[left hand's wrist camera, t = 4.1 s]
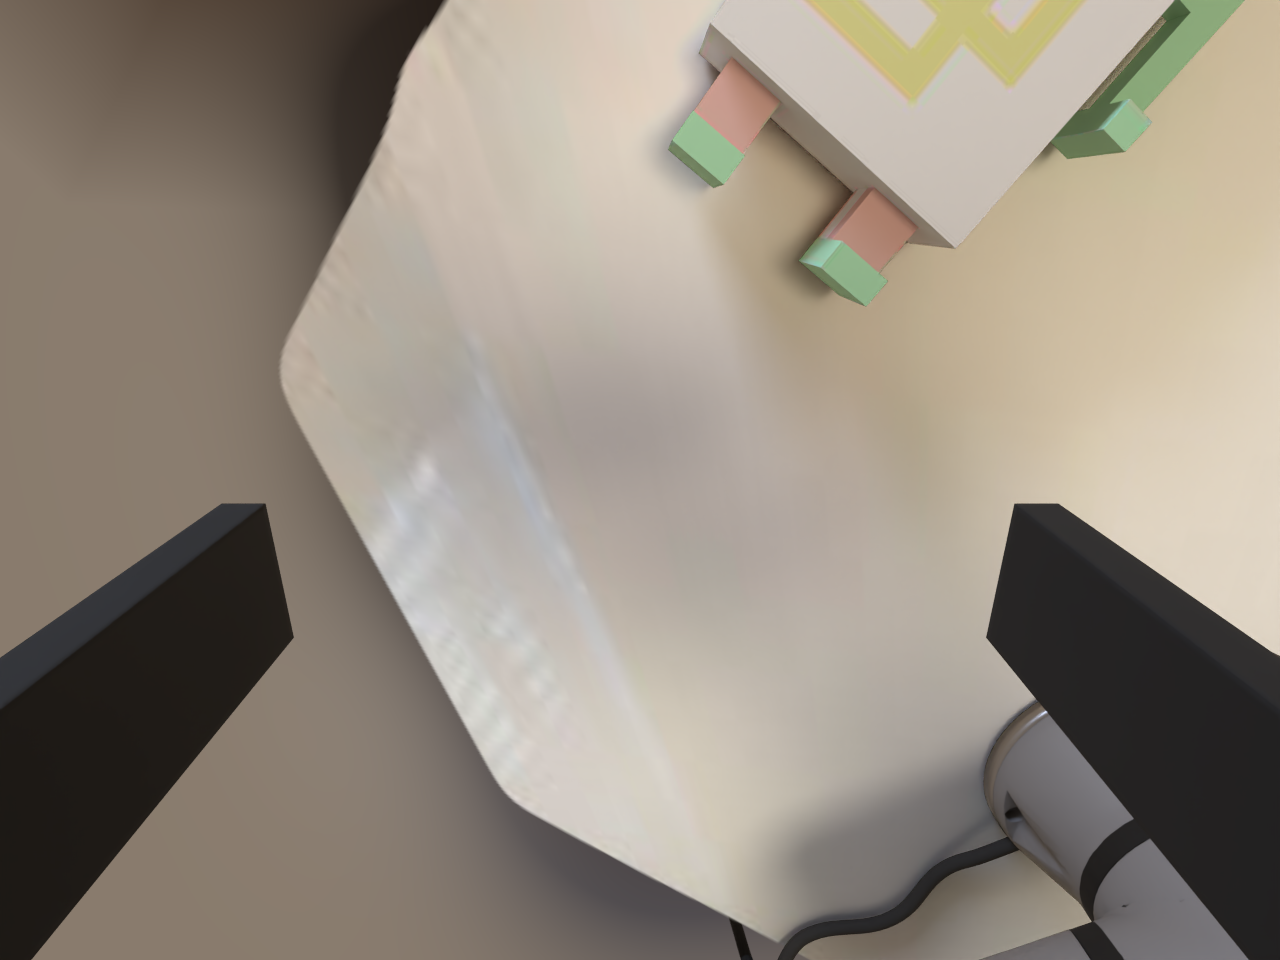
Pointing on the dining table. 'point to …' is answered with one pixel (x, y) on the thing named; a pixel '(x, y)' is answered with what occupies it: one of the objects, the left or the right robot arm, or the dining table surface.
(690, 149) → the decorative block
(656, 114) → the dining table surface
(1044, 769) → the left robot arm
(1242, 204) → the dining table surface
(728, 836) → the dining table surface
